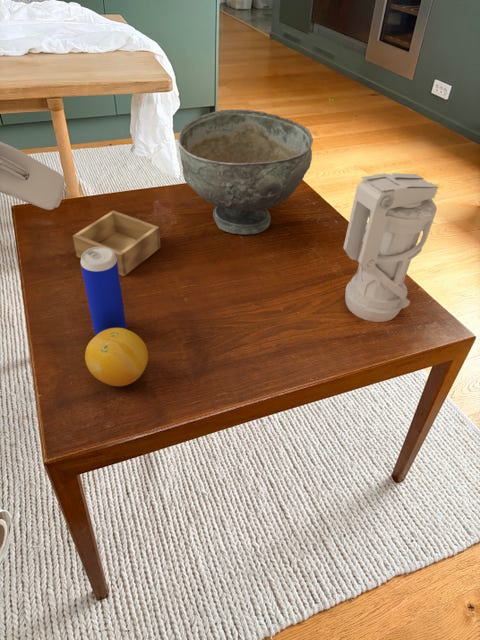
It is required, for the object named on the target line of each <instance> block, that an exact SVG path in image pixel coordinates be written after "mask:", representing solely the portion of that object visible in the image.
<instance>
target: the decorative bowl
mask: <svg viewBox="0 0 480 640" xmlns="http://www.w3.org/2000/svg"><path fill="white" fill-rule="evenodd" d="M177 143H178V148H179V149H178V150H179V156H180V161H181V165H182V175H183V178H184V182H185V183H186V184H187V185H188V186H189V187H190V188H191V189H192V190H193V191H194V192H195V193H196V194H197V195H199V196H200V198H202V199H203V200H204V201H206V202H207V203H209V204H211V205H213V206H215V207H214V209H213V211H212V216H213V220H214V222H215V224H216V226H217V227H218V229H219V230H222V231H224V232H226V233H230V234H236V235H255V234H259V233H261V232H264V231H265V230H267V229H268V228H269V226H270V225H271V219H272V217H271V215H270V211H269V210H268V209H269V208H272V207H275V206H277V205H280V204H281V203H283V202H285V201H286V200H288V199H289V198H290V197H291V196H292V194H294V193H295V191H296V189H297V188H298V187H299V186H300V184H301V183H302V180H304V177H305V175H306V174H307V172H308V170H309V169H310V167H311V164H312V159H313V150H312V146H313V143H314V138H313V135H312V133H311V132H310V129H308V128H307V127H306V126H304V125H302V124H300V123H299V122H297V121H293V120H291V119H289V118H286V117H285V118H284V117H281V116H279V115H277V114H273V113H267V112H265V111H259V110H252V109H251V110H250V109H249V110H248V109H233V108H232V109H231V108H230V109H221V110H217V111H213V112H208V113H206V114H202V115H200V116H199V117H195V118H194V119H192V120H189V121H188V122H187V123H186V124H185V125H184V126H183V128H181V130H180V132H179V133H178V136H177Z"/></svg>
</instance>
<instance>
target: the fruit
mask: <svg viewBox="0 0 480 640" xmlns="http://www.w3.org/2000/svg"><path fill="white" fill-rule="evenodd" d="M84 359H85V361H84V362H85V365H86V367H87V369H88V371H89V373H91V375H92V376H93V377H94V378H96V379H97V380H98V381H100V382H101V383H103V384H106V385H108V386H112V387H125V386H128V385H131V384H132V383H135V382H136V381H137V380H138V379H139V378H140V377H141V376H142V374H143V373H144V371H145V370H146V367H147V365H148V363H149V352H148V347H147V346H146V344H145V342H144V341H143V339H142V338H141V337H140V336H139V335H138V334H137V333H135V332H133V331H131V330H130V329H127V328H126V329H124V328H110V329H106V330H104V331H102V332H100V333H98V334H97V335H96V334H95V336H93V338H91V340H90V341H89V342H88V344H87V346H86V349H85V353H84Z"/></svg>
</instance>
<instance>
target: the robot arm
mask: <svg viewBox="0 0 480 640" xmlns="http://www.w3.org/2000/svg"><path fill="white" fill-rule="evenodd" d="M65 184H66V180H65V178H64V176H63V175H62V174H61V173H59V172H58V171H56V170H54V169H53V168H51V167H50V166H47V164H45V163H43V162H41V161H39V160H38V159H35V158H34V157H32V156H30V155H28V154H27V153H25V152H24V151H21V150H20V149H18V148H16V147H14V146H11V145H9V144H7V143H4V142H2V141H0V193H1V194H4V195H7V196H8V197H11V198H14V199H17V200H19V201H22V202H25V203H26V204H30V205H33V206H35V207H38V208H40V209H43V210H48V211H52V210H54V209H55V208H56V209H57V208H59V206H60V204H61V202H62V200H63V195H64V194H63V190H64V187H65Z"/></svg>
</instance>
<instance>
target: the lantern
mask: <svg viewBox="0 0 480 640" xmlns="http://www.w3.org/2000/svg"><path fill="white" fill-rule="evenodd" d="M360 178H361V179H362V180H361V181H359V183H358V184H357V185H356V190H355V195H354V199H353V203H352V208H351V212H350V216H349V221H348V225H347V230H346V234H345V239H344V243H343V250H344V252H345V254H346V255H347V256H348V257H349V259H351V260H352V261H356V262H358V267H357V270H356V273H355V274H354V276H352V278H351V280H350V281H349V282H348V283H347V285H346V287H345V294H344V299H345V300H344V301H345V304H346V308H347V309H348V310H349V311H350V312H351V313H352V314H353V315H354V316H356V317H357V318H360V319H363V320H364V321H368V322H374V323H382V322H384V323H385V322H389V321H392V320H393V319H394V318H396V317H397V316H398V314H399V313H400V311H401V310H402V309H405V308H407V307H408V306H409V305H410V304H411V301H410V300H409V299H408V298H407V296H408V293H409V291H408V288H407V285H406V283H405V280H406V276H407V273H408V270H409V268H410V267H409V266H410V265H411V261H412V260H414V258H416V257H417V256H418V255H419V254H420V253H421V252H422V250H423V247H424V245H425V244H426V242H427V239H428V236H429V233H430V230H431V228H432V226H433V222H434V219H435V216H436V214H437V205H436V204H435V201H433V199H435V198H436V194H437V192H438V188H439V186H437V185H436V184H434V183H432V182H428V181H427V180H425V178H424V177H422V176H421V175H419V174H417V173H398V172H392V173H385V172H384V173H377V174H376V173H375V174H372V175H367V176H366V175H365V176H361V177H360ZM421 232H422V235H421ZM420 235H421V238H420ZM419 239H420V241H419V242H418V240H419Z"/></svg>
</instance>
